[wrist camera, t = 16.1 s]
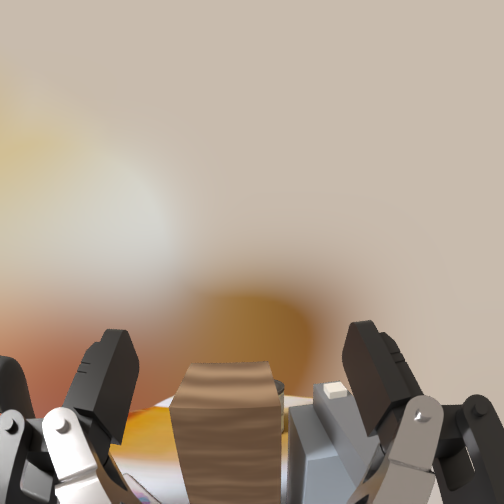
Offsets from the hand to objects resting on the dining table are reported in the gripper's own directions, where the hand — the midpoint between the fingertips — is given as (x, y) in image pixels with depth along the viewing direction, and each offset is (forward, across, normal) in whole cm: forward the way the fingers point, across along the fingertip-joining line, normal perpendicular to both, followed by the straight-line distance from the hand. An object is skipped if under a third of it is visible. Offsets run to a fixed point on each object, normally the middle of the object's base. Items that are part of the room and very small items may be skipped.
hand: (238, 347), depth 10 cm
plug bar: (+6, -12, +25) cm, 28 cm away
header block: (-2, -12, +48) cm, 50 cm away
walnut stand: (-2, +2, +48) cm, 48 cm away
